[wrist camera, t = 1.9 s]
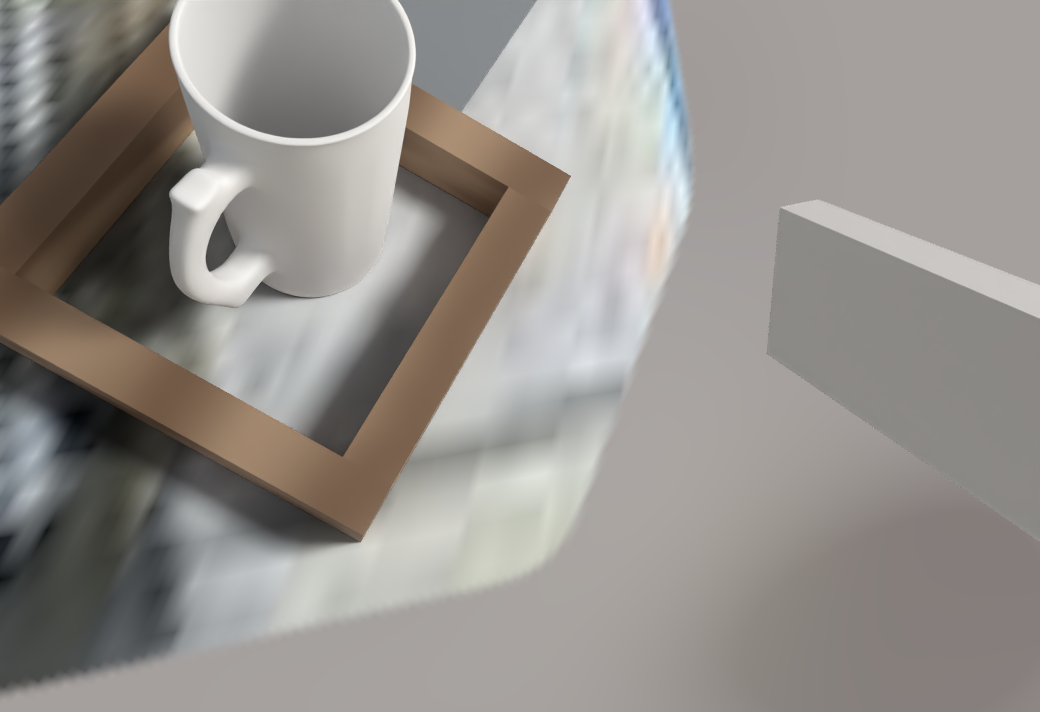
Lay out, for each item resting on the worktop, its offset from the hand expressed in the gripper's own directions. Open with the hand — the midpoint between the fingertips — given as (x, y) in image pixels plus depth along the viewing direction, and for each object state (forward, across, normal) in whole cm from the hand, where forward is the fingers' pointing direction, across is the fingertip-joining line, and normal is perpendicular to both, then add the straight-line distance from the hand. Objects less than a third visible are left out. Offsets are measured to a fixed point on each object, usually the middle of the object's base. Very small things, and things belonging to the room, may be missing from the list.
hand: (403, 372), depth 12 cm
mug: (+22, 0, -6) cm, 23 cm away
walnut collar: (+22, 0, -6) cm, 23 cm away
